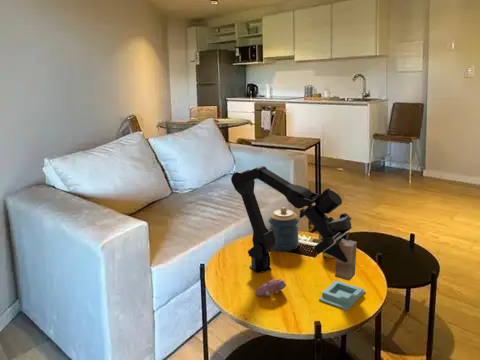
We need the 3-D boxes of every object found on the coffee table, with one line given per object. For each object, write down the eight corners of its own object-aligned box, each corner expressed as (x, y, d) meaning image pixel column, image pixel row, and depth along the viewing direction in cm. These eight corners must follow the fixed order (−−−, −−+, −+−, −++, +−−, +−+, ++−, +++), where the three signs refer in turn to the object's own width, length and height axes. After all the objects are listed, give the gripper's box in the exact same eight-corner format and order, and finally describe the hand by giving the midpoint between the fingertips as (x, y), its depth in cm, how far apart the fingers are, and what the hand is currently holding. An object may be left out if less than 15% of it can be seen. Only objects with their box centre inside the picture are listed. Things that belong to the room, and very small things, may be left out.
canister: (291, 254, 171) (291, 214, 166) (263, 248, 178) (262, 209, 173) (303, 243, 182) (303, 205, 177) (276, 237, 188) (276, 200, 184)
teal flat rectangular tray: (347, 310, 131) (347, 304, 131) (319, 300, 138) (319, 294, 137) (365, 291, 142) (365, 286, 141) (338, 283, 148) (338, 277, 147)
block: (349, 280, 136) (351, 247, 133) (334, 276, 139) (336, 243, 136) (354, 274, 140) (356, 241, 137) (340, 270, 143) (342, 238, 139)
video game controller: (259, 303, 140) (264, 290, 136) (253, 292, 143) (258, 279, 138) (284, 295, 144) (289, 283, 140) (277, 284, 147) (282, 272, 143)
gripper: (324, 216, 128) (357, 258, 125) (347, 200, 143) (377, 237, 139) (301, 234, 135) (331, 274, 131) (325, 217, 149) (353, 252, 146)
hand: (349, 258), depth 137 cm, fingers closed on block, 5 cm apart
